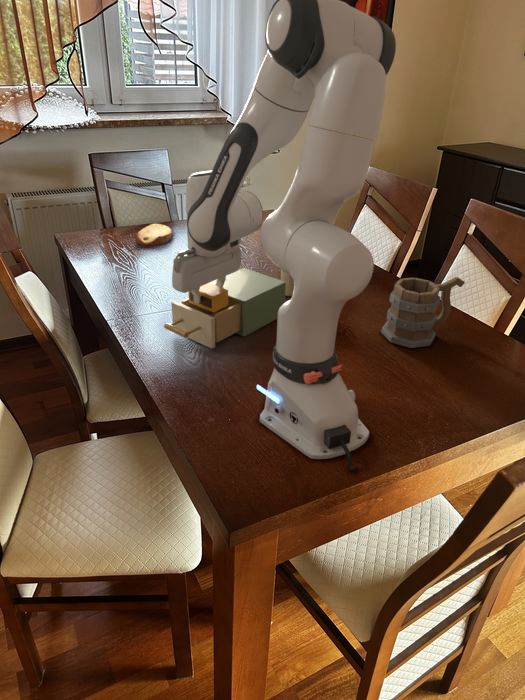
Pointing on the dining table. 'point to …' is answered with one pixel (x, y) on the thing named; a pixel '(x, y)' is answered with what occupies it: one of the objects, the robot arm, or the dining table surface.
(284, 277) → the candle
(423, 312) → the tankard
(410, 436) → the dining table surface
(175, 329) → the drawer
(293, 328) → the robot arm
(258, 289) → the cabinet
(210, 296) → the matchbox
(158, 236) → the slice of bread
